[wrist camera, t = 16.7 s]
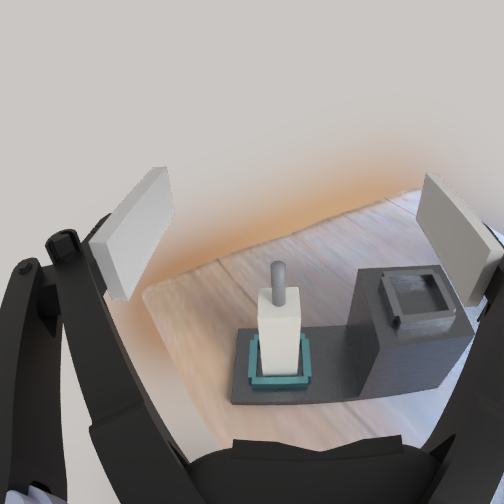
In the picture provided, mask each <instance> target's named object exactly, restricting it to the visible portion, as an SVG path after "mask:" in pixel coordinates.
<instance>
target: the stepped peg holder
mask: <svg viewBox="0 0 504 504" xmlns="http://www.w3.org/2000/svg"><path fill="white" fill-rule="evenodd" d="M474 335H475V333H474V330H473V328H472V326H471V324H470V322H469V320H468V318H467V316H466V313H465V311H464V309H463V307H462V305H461V303H460V301H459V299H458V297H457V296H456V294H455V292H454V290H453V288H452V286H451V284H450V282H449V280H448V279H447V277H446V275H445V273H444V271H443V270H442V268H441V266H440V265H430V266H411V267H390V268H367V269H358V273H357V279H356V284H355V289H354V294H353V299H352V304H351V308H350V313H349V318H348V322H347V325H345V326H327V327H305V328H300V343H299V357H298V370H297V376H282V377H263V371H262V361H261V350H260V340H259V330H258V329H238V339H237V349H236V359H235V370H234V380H233V390H232V400H231V402H232V405H298V404H318V403H333V402H344V401H355V400H364V399H372V398H380V397H387V396H394V395H400V394H406V393H412V392H418V391H423V390H428V389H433V388H438V387H439V385H440V384H441V383H442V381H443V380H444V379H445V377H446V376H447V375H448V373H449V372H450V371H451V369H452V368H453V367H454V365H455V364H456V362H457V361H458V359H459V358H460V357H461V355H462V354H463V352H464V351H465V349H466V348H467V346H468V345H469V343H470V342H471V340H472V338H473V337H474Z"/></svg>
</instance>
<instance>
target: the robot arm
mask: <svg viewBox="0 0 504 504" xmlns="http://www.w3.org/2000/svg"><path fill="white" fill-rule="evenodd" d="M174 215H175V212H174V207H173V201H172V195H171V189H170V183H169V178H168V171H167V167H155V168H153V169H151V170H150V171H149V172H148V173H147V175H146V176H145V177H144V178H143V179H142V180H141V181H140V182H139V183H138V184H137V185H136V186H135V188H134V189H133V190H132V191H131V192H130V193H129V194H128V195H127V197H126V198H125V199H124V200H123V201H122V202H121V203H120V205H119V206H118V207H117V208H116V209H115V210H114V212H113V213H110V214H108V215H106V216H105V217H104V218H102V219H101V220H100V221H99V222H98V223H97V224H96V226H95V228H93V229H92V231H91V233H89V234H88V235H87V237H86V238H85V239H84V240H83V241H82V243H80V240H79V237H78V235H77V232H76V231H75V230H73V229H65V230H62V231H59V232H57V233H56V234H54V235H52V236H51V237H50V238H49V239H48V240H47V242H46V244H45V247H46V249H47V252H48V254H49V256H50V259H51V261H52V263H53V265H49V266H45V267H41V265H40V263H39V261H38V260H37V258H28V259H26V260H22V261H21V262H20V263H18V265H17V266H16V267H15V268H14V270H13V272H12V274H11V277H10V280H9V283H8V286H7V289H6V292H5V295H4V298H3V301H2V305H1V308H0V504H68V503H67V478H66V468H65V460H64V450H63V439H62V426H61V403H60V365H61V341H62V326H63V324H64V328H65V332H66V337H67V341H68V345H69V349H70V353H71V357H72V360H73V364H74V367H75V371H76V374H77V378H78V381H79V384H80V387H81V391H82V393H83V397H84V400H85V403H86V405H87V408H88V411H89V414H90V417H91V419H92V425H91V426H90V427H89V433H90V437H91V440H92V442H93V445H94V447H95V450H96V452H97V455H98V457H99V459H100V462H101V464H102V466H103V468H104V471H105V473H106V475H107V477H108V479H109V481H110V483H111V485H112V488H113V490H114V492H115V494H116V495H117V497H118V499H119V501H120V503H121V504H490V502H491V500H492V498H493V496H494V494H495V491H496V489H497V487H498V485H499V482H500V480H501V478H502V475H503V473H504V245H503V244H502V243H501V242H500V241H499V239H498V238H497V237H496V235H494V233H493V232H492V230H491V229H490V228H489V227H488V226H487V225H485V224H484V223H483V222H482V221H481V220H480V219H479V218H478V217H477V216H476V214H475V213H474V212H473V211H472V210H471V209H470V208H469V207H468V205H467V204H466V203H465V202H464V201H463V200H462V199H461V198H460V197H459V195H458V194H457V193H456V192H455V191H454V190H453V189H452V188H451V187H450V186H449V185H448V184H447V183H446V182H445V181H444V180H443V179H442V178H441V177H440V176H439V175H438V174H431V173H426V175H425V179H424V185H423V189H422V194H421V198H420V203H419V207H418V211H417V215H416V221H417V222H418V224H419V225H420V227H421V229H422V230H423V232H424V233H425V235H426V237H427V238H428V240H429V242H430V243H431V245H432V247H433V249H434V250H435V252H436V254H437V256H438V257H439V259H440V261H441V263H442V265H443V266H444V268H445V270H446V272H447V274H448V276H449V277H450V279H451V281H452V283H453V285H454V287H455V289H456V291H457V293H458V295H459V297H460V299H461V301H462V303H463V305H464V307H470V306H478V305H479V303H480V301H481V300H482V298H483V296H484V295H485V297H486V298H487V300H488V302H487V304H486V305H485V307H484V309H483V311H482V313H481V314H480V316H479V318H478V319H477V322H479V321H480V323H479V326H478V329H477V332H476V335H475V338H474V341H473V344H472V346H471V349H470V352H469V354H468V357H467V360H466V362H465V365H464V367H463V370H462V372H461V374H460V377H459V379H458V381H457V384H456V386H455V388H454V390H453V392H452V395H451V397H450V399H449V401H448V403H447V405H446V407H445V409H444V411H443V413H442V415H441V417H440V419H439V421H438V423H437V425H436V427H435V428H434V430H433V432H432V434H431V436H430V437H429V439H428V440H427V441H426V443H425V444H424V445H423V446H422V447H421V449H418V448H416V447H413V446H409V445H404V444H402V438H401V435H396V436H388V437H380V438H371V439H362V440H359V441H356V442H353V443H350V444H347V445H344V446H341V447H337V448H334V449H330V450H327V451H322V452H318V451H313V450H308V449H304V448H299V447H295V446H291V445H287V444H283V443H279V442H270V441H251V440H237V439H233V447H232V448H229V449H223V450H219V451H215V452H212V453H210V454H207V455H204V456H202V457H200V458H198V459H196V460H195V461H193V462H192V463H190V462H189V461H188V459H187V458H186V457H185V455H184V454H183V452H182V451H181V449H180V448H179V446H178V445H177V444H176V442H175V441H174V439H173V437H172V436H171V434H170V432H169V431H168V429H167V427H166V426H165V424H164V422H163V420H162V419H161V417H160V415H159V414H158V412H157V410H156V408H155V407H154V405H153V403H152V401H151V399H150V397H149V395H148V393H147V392H146V390H145V388H144V386H143V384H142V382H141V380H140V378H139V376H138V374H137V372H136V370H135V368H134V366H133V364H132V362H131V360H130V358H129V355H128V353H127V351H126V349H125V347H124V345H123V342H122V340H121V338H120V336H119V334H118V331H117V329H116V326H115V324H114V322H113V319H112V317H111V314H110V312H109V310H108V307H107V305H106V302H105V300H104V298H103V295H104V293H105V292H106V290H108V292H109V295H110V297H111V299H112V300H116V301H126V302H128V301H129V299H130V297H131V295H132V293H133V291H134V289H135V287H136V285H137V283H138V281H139V279H140V277H141V275H142V274H143V272H144V269H145V268H146V266H147V264H148V262H149V260H150V258H151V256H152V255H153V253H154V251H155V249H156V247H157V245H158V243H159V242H160V240H161V238H162V236H163V234H164V233H165V231H166V229H167V227H168V225H169V224H170V222H171V220H172V218H173V216H174Z"/></svg>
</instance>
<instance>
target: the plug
mask: <svg viewBox="0 0 504 504" xmlns="http://www.w3.org/2000/svg"><path fill="white" fill-rule="evenodd" d="M271 284H272V288H259V291H258V316H257V319H258V330H259V340H260V350H261V361H262V371H263V377H282V376H297V370H298V357H299V343H300V328H301V309H300V298H299V287H286V277H285V263H284V262H282V261H275V262H273V263H272V264H271Z"/></svg>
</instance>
